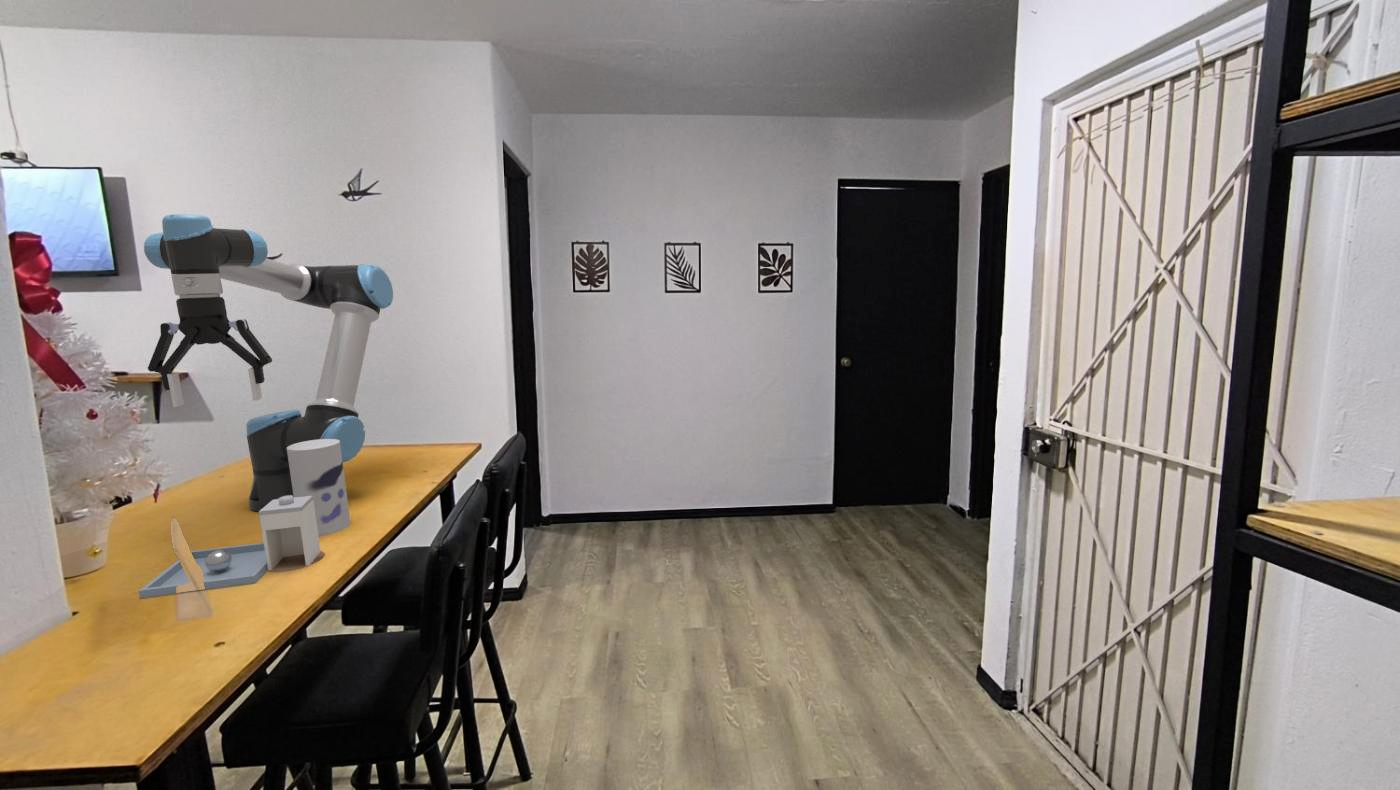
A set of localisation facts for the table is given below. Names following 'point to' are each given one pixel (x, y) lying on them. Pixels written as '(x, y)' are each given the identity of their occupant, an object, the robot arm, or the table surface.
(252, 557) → the tray
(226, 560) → the ball
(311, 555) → the open-front grey box
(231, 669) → the table surface
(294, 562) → the coaster
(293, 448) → the container
